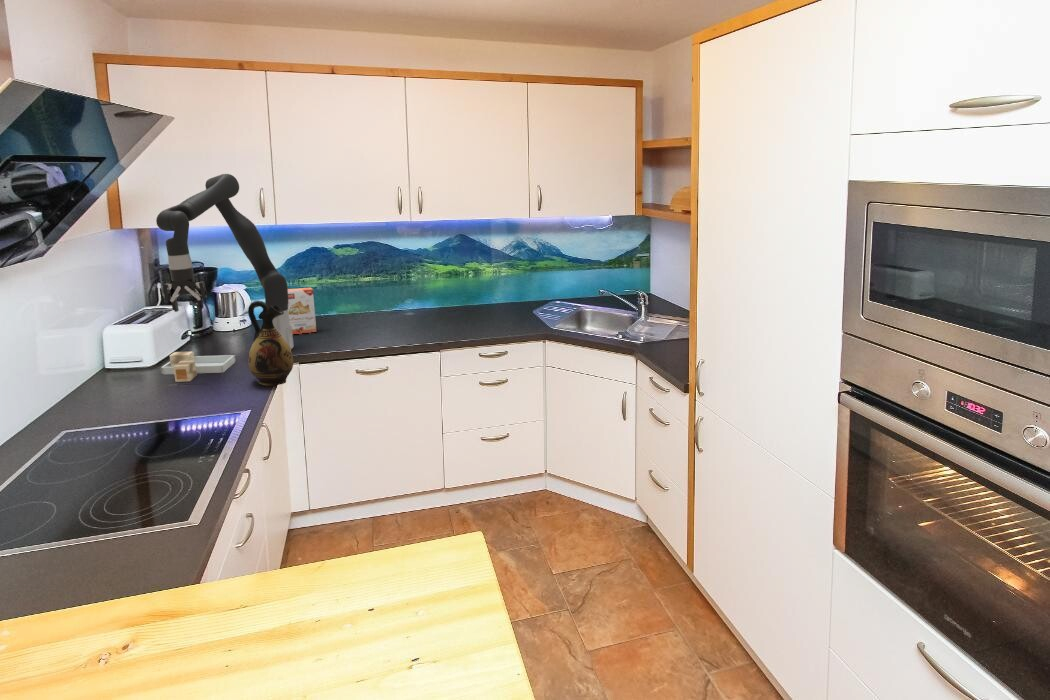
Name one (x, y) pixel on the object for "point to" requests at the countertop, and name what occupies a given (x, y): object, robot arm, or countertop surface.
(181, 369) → the orange-label box
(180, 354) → the tan rounded block
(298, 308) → the cracker box
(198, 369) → the white rectangular tray
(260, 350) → the ceramic jug
